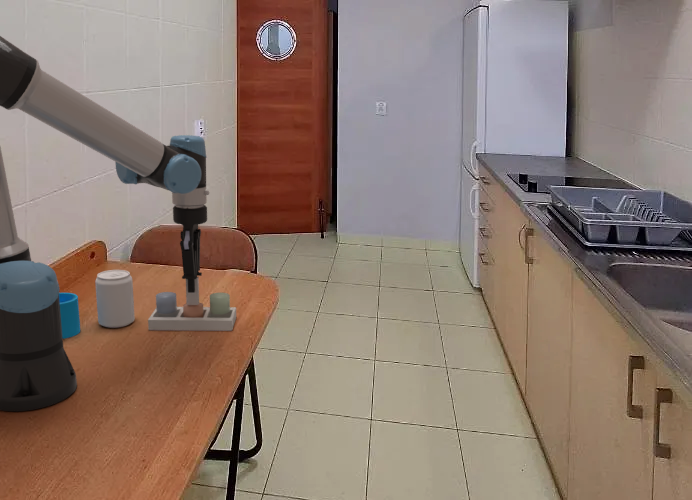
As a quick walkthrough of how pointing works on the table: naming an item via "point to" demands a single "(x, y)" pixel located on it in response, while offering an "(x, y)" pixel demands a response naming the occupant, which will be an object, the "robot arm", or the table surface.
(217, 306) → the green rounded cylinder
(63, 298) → the mug
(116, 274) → the beverage can
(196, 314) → the button terracotta
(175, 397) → the table surface
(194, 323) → the three-ball tray
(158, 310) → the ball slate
